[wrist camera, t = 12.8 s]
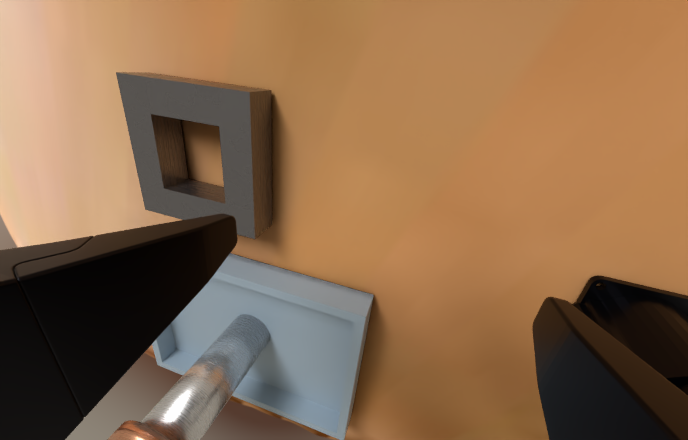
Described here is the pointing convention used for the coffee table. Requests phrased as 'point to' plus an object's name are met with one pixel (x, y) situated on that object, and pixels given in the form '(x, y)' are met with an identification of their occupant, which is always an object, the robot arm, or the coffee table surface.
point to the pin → (202, 386)
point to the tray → (280, 339)
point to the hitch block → (169, 155)
